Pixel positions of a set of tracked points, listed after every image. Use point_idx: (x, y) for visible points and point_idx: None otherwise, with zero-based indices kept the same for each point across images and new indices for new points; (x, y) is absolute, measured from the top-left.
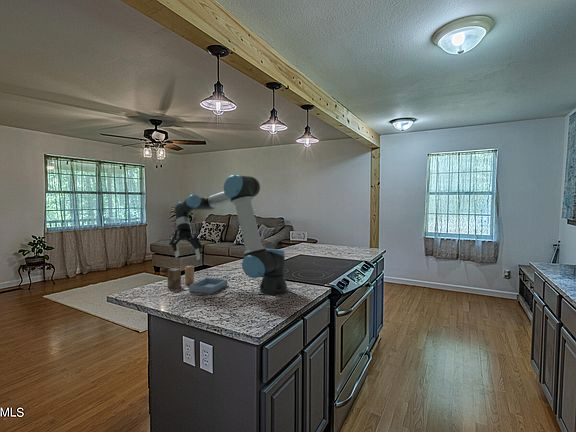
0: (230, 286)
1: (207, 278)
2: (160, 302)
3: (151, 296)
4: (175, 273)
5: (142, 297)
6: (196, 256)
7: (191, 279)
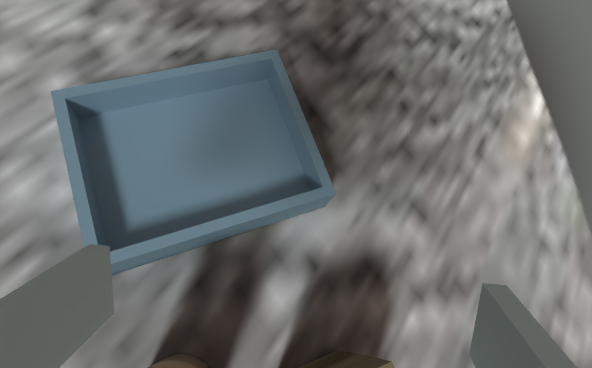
0: None
1: None
2: (513, 187)
3: None
4: (379, 359)
5: None
6: (74, 343)
7: (185, 358)
